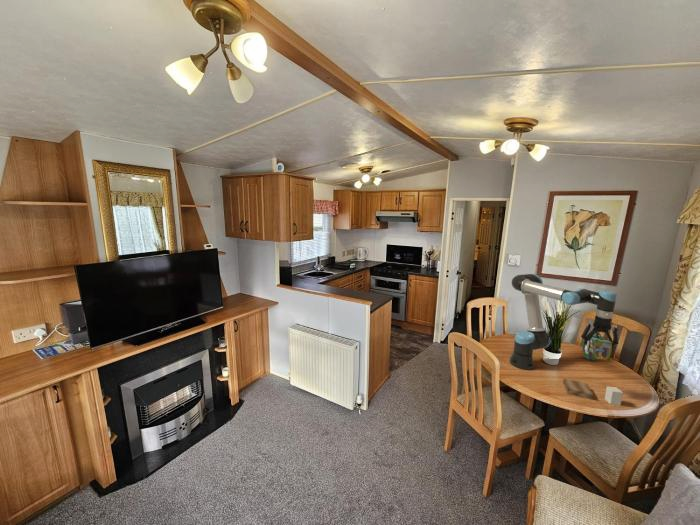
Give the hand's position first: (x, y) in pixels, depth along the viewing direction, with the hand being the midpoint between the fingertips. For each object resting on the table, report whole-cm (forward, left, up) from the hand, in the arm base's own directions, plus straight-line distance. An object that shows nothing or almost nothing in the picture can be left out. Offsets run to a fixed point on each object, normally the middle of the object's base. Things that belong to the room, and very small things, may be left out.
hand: (596, 351), depth 174 cm
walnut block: (-8, -6, -26) cm, 27 cm away
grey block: (+8, -9, -25) cm, 28 cm away
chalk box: (0, 0, -3) cm, 3 cm away
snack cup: (+11, +50, -25) cm, 58 cm away
